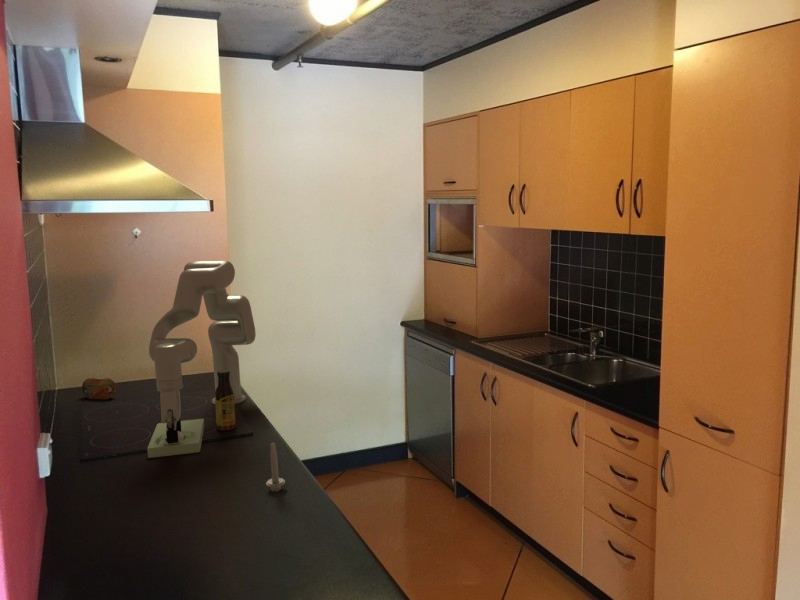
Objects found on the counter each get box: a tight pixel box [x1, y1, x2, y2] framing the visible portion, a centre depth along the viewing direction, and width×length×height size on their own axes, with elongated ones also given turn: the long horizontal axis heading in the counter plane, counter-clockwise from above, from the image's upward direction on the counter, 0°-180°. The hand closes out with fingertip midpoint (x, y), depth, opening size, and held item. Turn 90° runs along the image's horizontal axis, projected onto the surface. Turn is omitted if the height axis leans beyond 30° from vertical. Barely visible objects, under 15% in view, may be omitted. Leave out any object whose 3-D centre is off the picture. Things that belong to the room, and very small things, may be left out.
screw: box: [265, 442, 286, 493], centre depth 170 cm, size 13×5×5 cm
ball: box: [178, 431, 184, 441], centre depth 205 cm, size 5×5×5 cm
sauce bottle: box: [214, 370, 236, 432], centre depth 220 cm, size 6×6×20 cm
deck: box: [146, 418, 206, 459], centre depth 210 cm, size 24×15×3 cm, turn 13°
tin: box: [81, 377, 117, 400], centre depth 263 cm, size 15×3×8 cm, turn 73°
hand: (174, 437), depth 202 cm, fingers open, 9 cm apart
